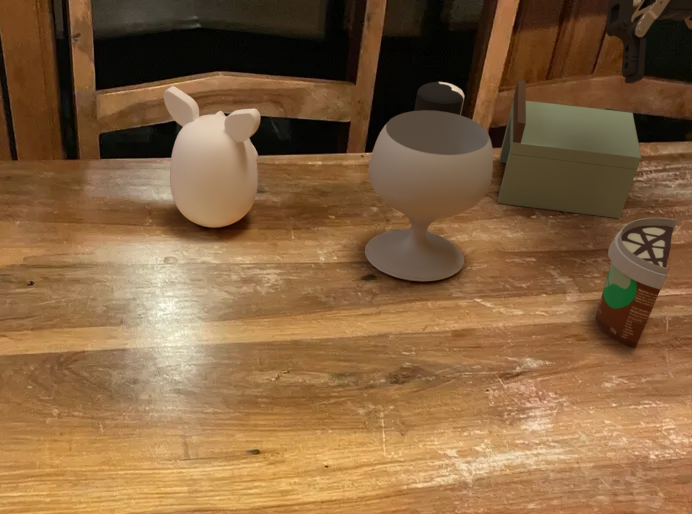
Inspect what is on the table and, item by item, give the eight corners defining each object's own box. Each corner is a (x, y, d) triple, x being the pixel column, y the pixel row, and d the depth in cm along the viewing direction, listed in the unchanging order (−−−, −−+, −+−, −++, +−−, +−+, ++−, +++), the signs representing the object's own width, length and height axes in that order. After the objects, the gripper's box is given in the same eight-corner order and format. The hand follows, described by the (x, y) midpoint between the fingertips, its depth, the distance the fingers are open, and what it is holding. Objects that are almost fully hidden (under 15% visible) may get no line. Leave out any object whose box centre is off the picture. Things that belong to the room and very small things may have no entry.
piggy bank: (269, 205, 122) (277, 82, 111) (248, 249, 115) (253, 122, 103) (179, 191, 124) (176, 69, 112) (151, 233, 116) (146, 107, 105)
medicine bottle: (423, 198, 125) (441, 103, 116) (388, 176, 129) (402, 83, 120) (461, 184, 128) (481, 91, 119) (425, 164, 132) (442, 72, 122)
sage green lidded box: (612, 171, 132) (639, 92, 124) (619, 218, 123) (648, 137, 115) (499, 158, 134) (518, 79, 126) (497, 203, 125) (518, 121, 117)
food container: (592, 287, 112) (621, 206, 104) (645, 298, 110) (678, 217, 103) (578, 341, 104) (607, 258, 97) (634, 354, 103) (668, 271, 95)
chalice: (364, 287, 110) (383, 159, 98) (351, 228, 119) (367, 104, 108) (481, 289, 111) (513, 161, 99) (459, 230, 120) (486, 107, 108)
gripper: (645, -119, 89) (632, 71, 93) (772, -110, 92) (754, 74, 96) (598, -85, 96) (588, 90, 100) (717, -78, 99) (702, 92, 103)
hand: (669, 82), depth 98 cm, fingers open, 8 cm apart
